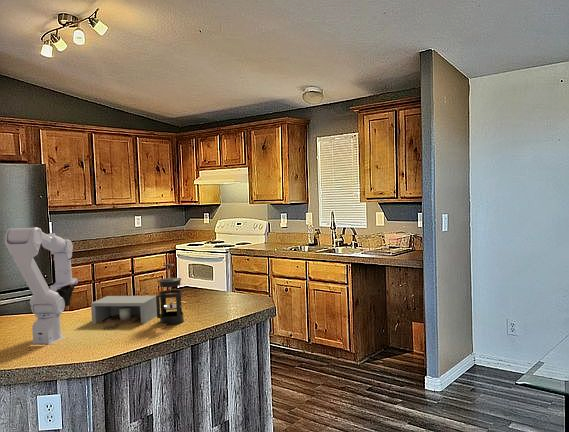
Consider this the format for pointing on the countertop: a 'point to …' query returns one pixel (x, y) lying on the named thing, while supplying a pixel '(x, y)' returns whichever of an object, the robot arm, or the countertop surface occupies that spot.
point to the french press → (170, 316)
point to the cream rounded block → (125, 313)
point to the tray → (119, 321)
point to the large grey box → (113, 303)
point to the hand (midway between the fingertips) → (65, 305)
